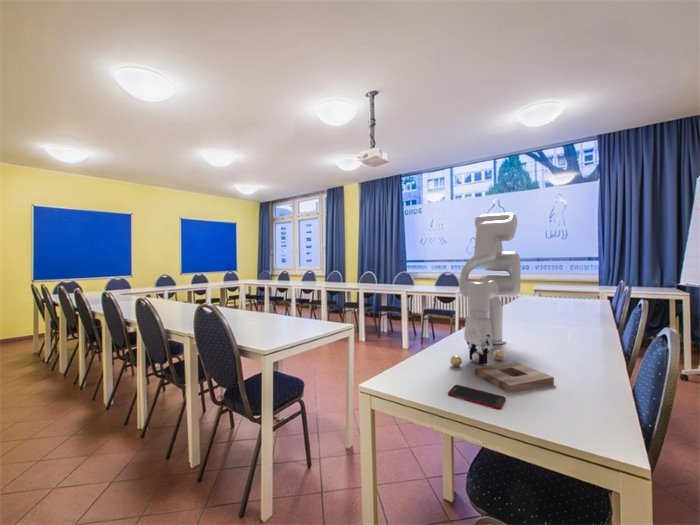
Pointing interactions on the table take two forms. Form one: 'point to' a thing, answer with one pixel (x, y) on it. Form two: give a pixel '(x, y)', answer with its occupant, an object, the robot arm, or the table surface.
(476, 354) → the steel ball
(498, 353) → the brass ball
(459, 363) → the brass ball
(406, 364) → the table surface
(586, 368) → the table surface
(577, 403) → the table surface
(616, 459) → the table surface
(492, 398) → the cell phone
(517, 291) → the robot arm
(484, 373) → the pocket plate
